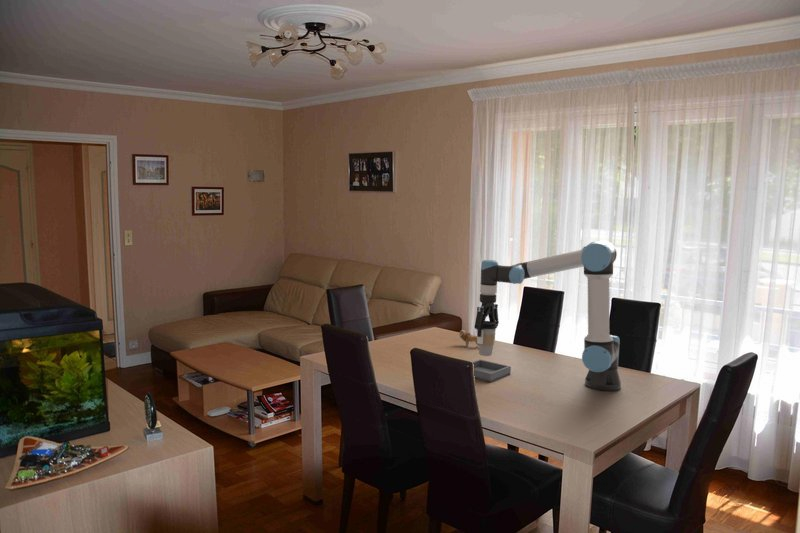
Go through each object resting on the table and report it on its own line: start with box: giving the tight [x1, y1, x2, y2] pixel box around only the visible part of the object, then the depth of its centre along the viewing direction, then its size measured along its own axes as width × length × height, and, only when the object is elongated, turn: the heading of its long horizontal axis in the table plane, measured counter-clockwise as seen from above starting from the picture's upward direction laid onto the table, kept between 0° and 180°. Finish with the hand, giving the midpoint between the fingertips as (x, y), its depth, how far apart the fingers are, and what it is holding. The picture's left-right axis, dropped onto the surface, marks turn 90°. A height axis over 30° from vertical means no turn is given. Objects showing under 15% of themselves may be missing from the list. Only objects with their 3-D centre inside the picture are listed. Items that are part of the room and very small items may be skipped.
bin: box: [472, 359, 512, 383], centre depth 280 cm, size 17×17×4 cm
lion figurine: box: [458, 329, 479, 350], centre depth 331 cm, size 15×5×9 cm, turn 65°
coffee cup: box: [478, 320, 498, 357], centre depth 279 cm, size 9×9×15 cm
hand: (486, 341), depth 279 cm, fingers closed on coffee cup, 9 cm apart
